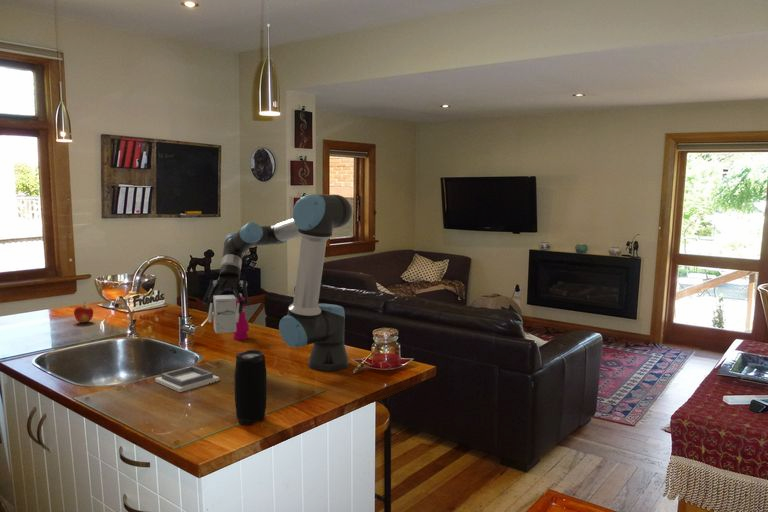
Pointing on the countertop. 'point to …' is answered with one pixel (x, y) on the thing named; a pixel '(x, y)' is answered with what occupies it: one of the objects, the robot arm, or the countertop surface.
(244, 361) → the portable speaker
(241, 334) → the pepper mill
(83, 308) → the apple
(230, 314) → the supplement box
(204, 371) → the collar board
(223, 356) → the countertop surface
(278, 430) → the countertop surface
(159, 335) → the countertop surface
